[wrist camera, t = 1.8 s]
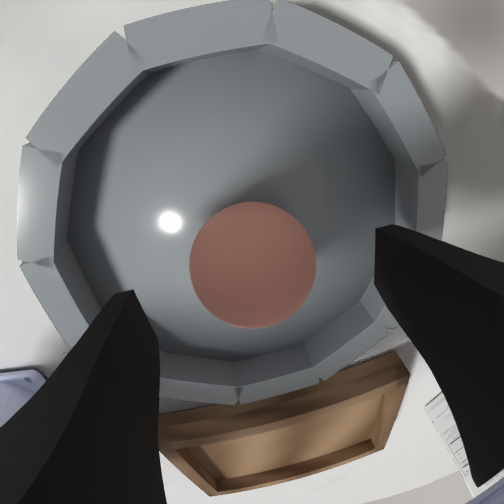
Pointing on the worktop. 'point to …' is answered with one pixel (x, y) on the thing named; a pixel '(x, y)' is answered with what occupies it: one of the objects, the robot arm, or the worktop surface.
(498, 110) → the worktop surface
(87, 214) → the bowl
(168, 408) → the worktop surface
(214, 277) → the ball
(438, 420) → the syrup box
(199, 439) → the tray
